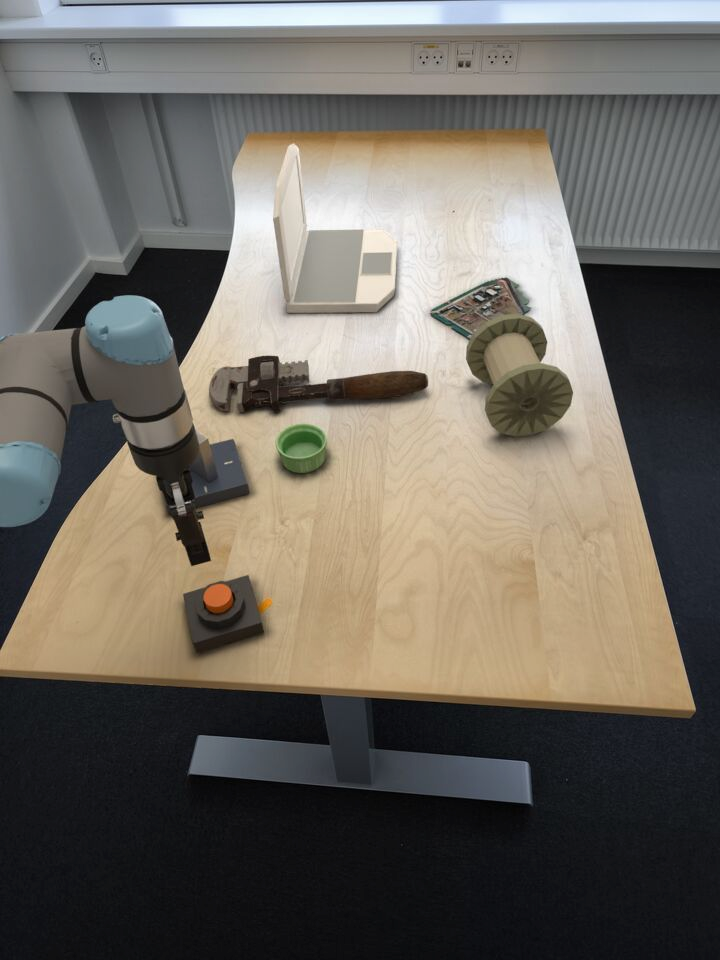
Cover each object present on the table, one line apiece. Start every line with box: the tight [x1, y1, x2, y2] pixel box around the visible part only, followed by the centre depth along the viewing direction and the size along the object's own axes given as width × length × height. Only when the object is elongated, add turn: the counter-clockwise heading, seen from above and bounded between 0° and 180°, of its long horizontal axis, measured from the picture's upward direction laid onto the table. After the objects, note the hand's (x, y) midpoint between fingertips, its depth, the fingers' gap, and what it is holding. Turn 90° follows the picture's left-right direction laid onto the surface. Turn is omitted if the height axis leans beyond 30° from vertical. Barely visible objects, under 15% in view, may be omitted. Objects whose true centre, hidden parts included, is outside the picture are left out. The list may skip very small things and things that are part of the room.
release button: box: [204, 584, 233, 614], centre depth 105 cm, size 4×4×2 cm
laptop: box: [272, 143, 398, 314], centre depth 165 cm, size 33×24×26 cm
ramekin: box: [275, 423, 328, 474], centre depth 130 cm, size 9×9×4 cm
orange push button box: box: [182, 574, 265, 654], centre depth 107 cm, size 10×9×4 cm
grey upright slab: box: [189, 429, 218, 482], centre depth 124 cm, size 7×2×9 cm, turn 48°
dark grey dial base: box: [163, 438, 251, 516], centre depth 128 cm, size 14×12×3 cm
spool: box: [465, 314, 574, 438], centre depth 133 cm, size 16×15×15 cm
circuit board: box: [429, 276, 532, 340], centre depth 161 cm, size 23×15×1 cm, turn 128°
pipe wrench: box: [208, 355, 429, 413], centre depth 143 cm, size 43×13×5 cm, turn 93°
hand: (200, 559), depth 98 cm, fingers closed
